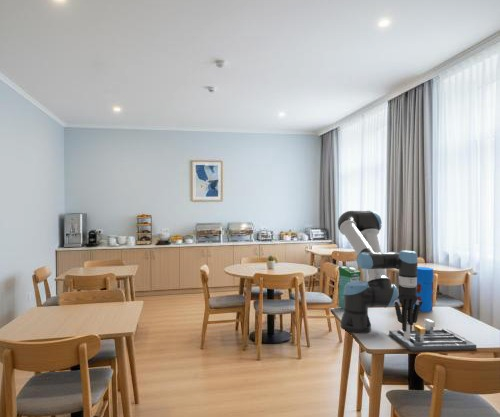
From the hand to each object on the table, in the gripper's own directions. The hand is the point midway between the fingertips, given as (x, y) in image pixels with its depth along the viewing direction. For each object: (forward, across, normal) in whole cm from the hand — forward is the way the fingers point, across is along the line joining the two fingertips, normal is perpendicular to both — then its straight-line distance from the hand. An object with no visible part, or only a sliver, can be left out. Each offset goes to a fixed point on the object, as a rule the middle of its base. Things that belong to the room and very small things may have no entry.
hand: (406, 338), depth 162 cm
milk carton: (+4, -4, +60) cm, 61 cm away
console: (+3, +14, +5) cm, 15 cm away
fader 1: (+1, +6, 0) cm, 6 cm away
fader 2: (+1, +16, +9) cm, 18 cm away
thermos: (+4, +40, +56) cm, 68 cm away
